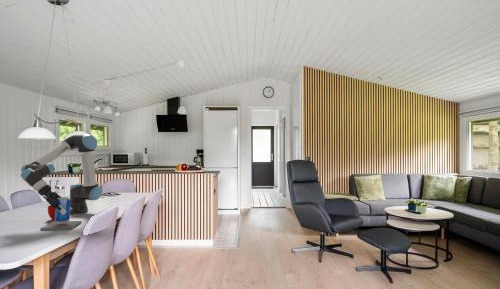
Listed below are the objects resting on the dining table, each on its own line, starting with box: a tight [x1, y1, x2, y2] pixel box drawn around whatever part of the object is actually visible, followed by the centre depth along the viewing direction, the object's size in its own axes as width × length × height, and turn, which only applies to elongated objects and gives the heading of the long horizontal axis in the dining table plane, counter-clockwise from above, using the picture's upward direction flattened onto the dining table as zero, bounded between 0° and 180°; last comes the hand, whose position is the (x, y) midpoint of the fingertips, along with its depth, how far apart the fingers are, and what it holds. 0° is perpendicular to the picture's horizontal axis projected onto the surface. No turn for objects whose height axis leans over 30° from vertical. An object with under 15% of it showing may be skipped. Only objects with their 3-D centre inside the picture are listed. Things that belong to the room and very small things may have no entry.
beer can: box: [54, 196, 71, 223], centre depth 198 cm, size 8×8×16 cm
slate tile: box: [40, 220, 83, 231], centre depth 198 cm, size 18×18×2 cm
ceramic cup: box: [47, 204, 55, 221], centre depth 218 cm, size 13×17×10 cm
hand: (67, 211), depth 199 cm, fingers closed on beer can, 8 cm apart
